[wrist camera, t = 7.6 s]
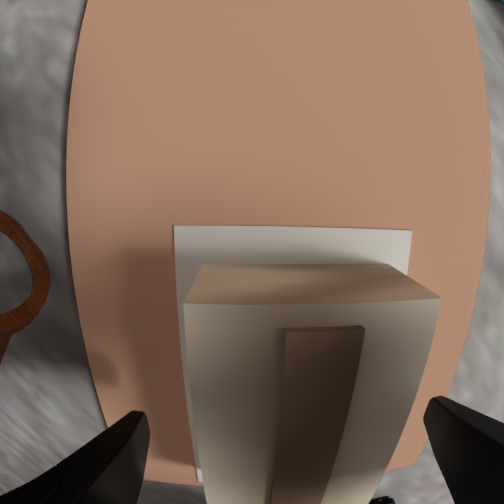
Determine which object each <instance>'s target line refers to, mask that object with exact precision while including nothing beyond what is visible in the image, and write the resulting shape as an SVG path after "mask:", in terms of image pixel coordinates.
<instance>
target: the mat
mask: <svg viewBox="0 0 504 504" xmlns="http://www.w3.org/2000/svg"><path fill="white" fill-rule="evenodd" d="M66 190H67V217H68V233H69V245H70V255H71V265H72V273H73V281H74V288H75V295H76V301H77V307H78V313H79V318H80V324H81V329H82V334H83V339H84V343H85V348H86V352H87V357H88V361H89V365H90V369H91V373H92V377H93V380H94V384H95V388H96V391H97V395H98V398H99V401H100V405H101V408H102V411H103V414H104V417H105V420H106V423H107V426H108V428H109V427H110V426H111V425H113V424H114V423H115V422H117V421H118V420H119V419H121V418H122V417H123V416H125V415H126V414H127V413H129V412H130V411H132V410H136V411H143V412H145V413H146V415H147V419H148V424H149V428H150V442H149V448H148V454H147V460H146V467H145V473H144V478H143V479H144V480H150V481H157V482H165V483H173V484H183V485H194V486H204V485H203V479H202V473H201V466H200V460H199V453H198V446H197V439H196V432H195V424H194V416H193V408H192V399H191V390H190V381H189V371H188V360H187V349H186V336H185V323H184V308H183V303H184V301H185V299H186V297H187V294H188V292H189V290H190V288H191V286H192V284H193V282H194V280H195V277H196V275H197V273H198V271H199V269H200V267H201V265H202V264H389V265H391V266H392V267H394V268H396V269H397V270H399V271H400V272H402V273H404V274H405V275H407V276H408V277H410V278H412V279H413V280H415V281H416V282H418V283H419V284H421V285H422V286H424V287H426V288H427V289H429V290H430V291H432V292H433V293H435V294H436V295H438V296H439V297H441V298H442V301H441V306H440V310H439V315H438V319H437V324H436V328H435V332H434V336H433V340H432V344H431V348H430V352H429V355H428V359H427V362H426V366H425V369H424V373H423V376H422V379H421V382H420V385H419V388H418V391H417V394H416V397H415V400H414V403H413V406H412V409H411V411H410V414H409V417H408V419H407V422H406V425H405V427H404V430H403V432H402V435H401V437H400V439H399V442H398V444H397V446H396V449H395V451H394V453H393V456H392V458H391V460H390V462H389V464H388V466H387V469H386V471H390V470H394V469H398V468H402V467H406V466H410V465H413V464H416V462H417V460H418V458H419V456H420V454H421V452H422V450H423V448H424V446H425V444H426V442H427V440H428V438H429V437H428V434H427V431H426V428H425V426H424V422H423V416H424V413H425V410H426V408H427V405H428V403H429V400H430V399H431V398H432V397H436V396H444V397H446V396H447V393H448V391H449V388H450V385H451V383H452V380H453V377H454V374H455V371H456V368H457V365H458V362H459V359H460V356H461V353H462V350H463V346H464V343H465V339H466V336H467V332H468V328H469V325H470V321H471V317H472V313H473V308H474V304H475V300H476V295H477V290H478V285H479V280H480V274H481V269H482V262H483V256H484V249H485V241H486V233H487V223H488V212H489V197H490V128H489V114H488V103H487V93H486V85H485V78H484V71H483V65H482V59H481V54H480V49H479V44H478V39H477V35H476V30H475V26H474V22H473V18H472V15H471V11H470V7H469V4H468V1H467V0H88V2H87V6H86V10H85V14H84V18H83V23H82V27H81V32H80V37H79V42H78V47H77V53H76V59H75V65H74V72H73V79H72V87H71V96H70V106H69V118H68V133H67V160H66ZM386 471H385V472H386Z"/></svg>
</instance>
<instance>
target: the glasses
mask: <svg viewBox="0 0 504 504" xmlns="http://www.w3.org/2000/svg"><path fill="white" fill-rule="evenodd" d="M0 231H1V232H2V233H4V234H5V235H7V236H8V237H9V238H10V239H11V240H12V241H13V242H14V243H15V244H16V245H17V246H18V247H19V249H20V250H21V252H22V253H23V254H24V256H25V258H26V260H27V262H28V264H29V266H30V269H31V272H32V279H33V285H32V291H31V294H30V295H29V297H28V298H27V300H26V301H24V302H23V303H22V304H21V305H20V306H19V307H17V308H15V309H14V310H12V311H10V312H7V313H4V314H0V363H1V361H2V358H3V355H4V353H5V350H6V347H7V345H8V342H9V340H10V338H11V335H12V334H14V333H16V332H19V331H20V330H22V329H23V328H24V327H26V326H27V325H29V324H30V323H31V322H32V320H33V319H34V318H35V317H36V316H37V315H38V313H39V311H40V310H41V308H42V306H43V305H44V303H45V301H46V298H47V295H48V292H49V287H50V275H49V269H48V266H47V263H46V260H45V257H44V256H43V254H42V252H41V251H40V250H39V248H38V247H37V246H36V245H35V243H34V242H33V241H32V240H31V238H30V237H29V236H28V235H27V233H26V232H25V231H24V229H23V228H22V227H21V225H20V224H19V223H18V222H17V221H16V220H14V219H13V218H11V217H10V216H8V215H7V214H5V213H3V212H1V211H0Z"/></svg>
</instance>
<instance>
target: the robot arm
mask: <svg viewBox="0 0 504 504" xmlns="http://www.w3.org/2000/svg"><path fill="white" fill-rule="evenodd" d="M423 422H424V426H425V428H426V431H427V434H428V437H429V441H430V444H431V447H432V450H433V453H434V456H435V458H436V461H437V463H438V465H439V467H440V470H441V472H442V474H443V476H444V479H445V481H446V483H447V486H448V488H449V491H450V493H451V495H452V498H453V500H454V503H455V504H504V423H502V422H500V421H498V420H495V419H493V418H491V417H488V416H486V415H484V414H482V413H479V412H477V411H475V410H473V409H470V408H468V407H466V406H464V405H461V404H459V403H457V402H455V401H453V400H451V399H448V398H446V397H444V396H436V397H432V398H431V399H430V400H429V403H428V405H427V408H426V410H425V413H424V416H423ZM149 442H150V428H149V424H148V419H147V415H146V413H145V412H143V411H136V410H132V411H130V412H129V413H127V414H126V415H125V416H123V417H122V418H121V419H119V420H118V421H117V422H115V423H114V424H113V425H111V426H110V427H109V428H107V429H106V430H105V431H103V432H102V433H100V434H99V435H98V436H96V437H95V438H94V439H92V440H91V441H89V442H88V443H87V444H85V445H84V446H82V447H81V448H80V449H78V450H77V451H75V452H74V453H73V454H71V455H70V456H68V457H67V458H65V459H64V460H62V461H61V462H60V463H58V464H57V465H56V466H54V467H52V468H51V469H49V470H48V471H46V472H45V473H43V474H41V475H40V476H38V477H37V478H35V479H33V480H31V481H30V482H28V483H26V484H24V485H22V486H20V487H18V488H16V489H14V490H12V491H10V492H8V493H5V494H3V495H1V496H0V504H136V503H137V499H138V496H139V492H140V489H141V485H142V482H143V478H144V473H145V467H146V460H147V454H148V448H149ZM369 504H395V501H394V499H393V498H389V499H385V500H381V501H377V502H373V503H369Z"/></svg>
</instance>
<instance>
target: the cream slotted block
mask: <svg viewBox="0 0 504 504" xmlns="http://www.w3.org/2000/svg"><path fill="white" fill-rule="evenodd" d="M441 301H442V298H441V297H439V296H438V295H436V294H435V293H433V292H432V291H430V290H429V289H427V288H426V287H424V286H422V285H421V284H419V283H418V282H416V281H415V280H413V279H412V278H410V277H408V276H407V275H405V274H404V273H402V272H400V271H399V270H397V269H396V268H394V267H392V266H391V265H389V264H202V265H201V267H200V269H199V271H198V273H197V275H196V277H195V280H194V282H193V284H192V286H191V288H190V290H189V292H188V294H187V297H186V299H185V301H184V303H183V308H184V323H185V336H186V349H187V360H188V371H189V381H190V390H191V399H192V408H193V416H194V424H195V432H196V439H197V446H198V453H199V460H200V466H201V473H202V479H203V485H204V490H205V496H206V502H207V504H369V502H370V500H371V498H372V496H373V494H374V492H375V491H376V489H377V487H378V485H379V483H380V481H381V479H382V477H383V475H384V473H385V471H386V469H387V466H388V464H389V462H390V460H391V458H392V456H393V453H394V451H395V449H396V446H397V444H398V442H399V439H400V437H401V435H402V432H403V430H404V427H405V425H406V422H407V419H408V417H409V414H410V411H411V409H412V406H413V403H414V400H415V397H416V394H417V391H418V388H419V385H420V382H421V379H422V376H423V373H424V369H425V366H426V362H427V359H428V355H429V352H430V348H431V344H432V340H433V336H434V332H435V328H436V324H437V319H438V315H439V310H440V306H441Z"/></svg>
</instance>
